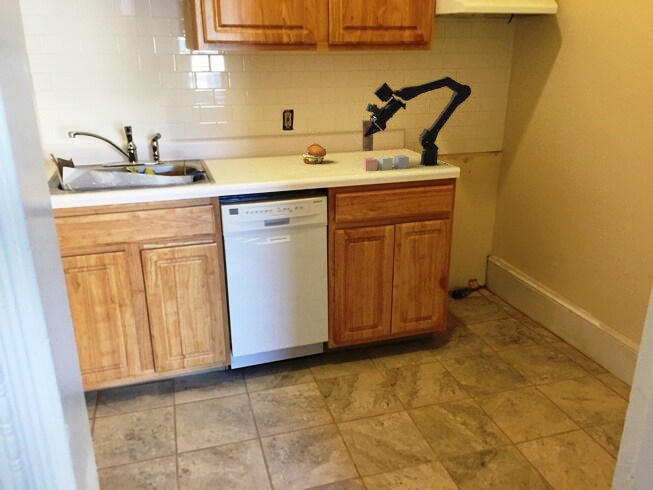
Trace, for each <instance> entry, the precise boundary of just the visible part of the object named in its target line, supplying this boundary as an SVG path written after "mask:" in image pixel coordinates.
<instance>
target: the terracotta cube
mask: <svg viewBox="0 0 653 490" xmlns="http://www.w3.org/2000/svg"><path fill="white" fill-rule="evenodd" d="M362 170H364V172H374V171H375V172H376V171H377V170H378V169H377V157H374V156H371V157H363V158H362Z"/></svg>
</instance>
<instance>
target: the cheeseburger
mask: <svg viewBox="0 0 653 490" xmlns="http://www.w3.org/2000/svg"><path fill="white" fill-rule="evenodd" d="M306 149H307V150H306V152H304V153H303V154H302V160H303V162H304V163H307V164H311V165H315V164H321V163H323V160H324V159H325V157H326V155H327V150H326V148H324V147H323V146H322V145H320V144H319V143H318V142H317V143H316V142H312V143H310V144H309V145H308V146H307V147H306Z"/></svg>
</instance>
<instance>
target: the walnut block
mask: <svg viewBox="0 0 653 490" xmlns="http://www.w3.org/2000/svg"><path fill="white" fill-rule="evenodd" d="M372 121H373V120H372ZM361 122H362V123H361V127H362V128H361V129H362V130H361V133H362V134H361V140H362V141H361V150H362V152H373V151H374V134H372V135H370V136H367V137H365V136H364V135H365V133H366V132H367V131H368V129H369V128H370V126H371V120H370V119H369V120H367V119H366V120H365V119H363V120H362V121H361Z"/></svg>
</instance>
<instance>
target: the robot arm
mask: <svg viewBox="0 0 653 490" xmlns="http://www.w3.org/2000/svg"><path fill="white" fill-rule="evenodd" d="M442 88H448V89H449V90H450V91H453V93H452V94H451V97H450V100H449V101H448V103H447V104H446V106H444V108H443V110H442V111H441V112H440V114H439V116H437V118H436V119H435V120H434V122H433V123H432V124H431V126H430V127H429V128H424V129H422V130H423V131H422V132H421V134H419V135H418V136H419V138H418V143H419V145H420V146H421V147H422V148H423V149H422V153H421V154H420V155H421V156H420V158H421V159H420V164H421V165H423V166H425V167H426V166H427V167H428V165H429V166H435V165H434V164H439V163H438V158H439V157H438V155H439V146H438V145H437V144H436V141H437V138H438V136H439V133H440V131H441V130H442V129H443V128H444V126H445V125H446V124H447V122H448V121H449V120H450V118H451V117H452V115H453V114H454V112H455V111H456V110H457V108H458V107H459V106H460V105H461V104H463V103H465V101H466V100H467V99H468V98H469V97H471V94H472V87H471V86H469V84H464V83H460V82H458V81H457V80H454V79H453V78H452V77H450V76H443V77H441V78H437V79H435V80H431V81H428V82H425V83H421V84H417V85H416V84H415V85H408V86H407V85H406V86H401V87H400V88H399V89H397V90H395V89H394V90H393V89H392V88H391V87H390V86H389V85H388V83H387V82H385V81H384V82H383V84H381V85H380V86H378V88H376V90H375V91H374V92H373V94H374V95H375V96H376V98H377V99H379V101H381V102H382V103H384V102H385V103H386V104H385V105H384V106H381V107H378V105H377V104H376V103H373V104H372V103H368V104H367V106H366V109H365V111H367V112H369V113H371V115H369V117H370V118H369V120H371V126H370V128H369V129H368V131H367V132H366V133H365V135H364V136H365V137H367V136H370V135H372V134H373V135H374V134H376V133H379V132H384V131H385V130H386V129H387V123H388V122H389V120H391V119H393V118H394V115H395V114H396V113H398V111H400V110H401V108H402V109H403V110H404V111H405V110H406V109H407V107H406V106H407V103H406V102H407V101H411V100H412V99H415V98H417V97H419V95H423V94H425V93H428V92H432V91H435V90H438V89H442ZM394 96H395V97H394ZM403 101H405V102H403ZM372 120H373V121H372Z"/></svg>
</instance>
